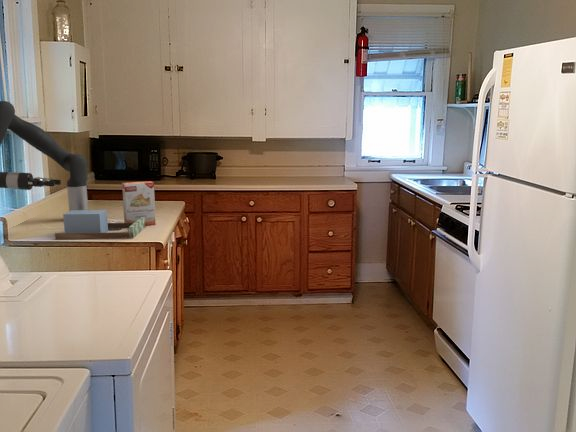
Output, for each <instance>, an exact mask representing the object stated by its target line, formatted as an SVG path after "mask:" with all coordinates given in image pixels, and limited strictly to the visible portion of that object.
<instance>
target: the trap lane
mask: <svg viewBox="0 0 576 432" xmlns="http://www.w3.org/2000/svg"><path fill="white" fill-rule="evenodd" d="M122 229H128V231H121V230H122ZM144 229H146V226H145V222H144V217H141V218H140V219H138V220H137V221H136V222H135V223H124V222H108V232H106V233H65V232H57V233H56V232H55V233H54V239H55V240H93V239H94V240H102V239H103V240H105V239H134V238H135V237H136V236H137V235H138V234H140V233H141V232H142V231H143V230H144ZM109 231H110V232H109ZM112 231H113V232H112ZM117 231H118V232H117Z"/></svg>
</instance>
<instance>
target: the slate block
mask: <svg viewBox="0 0 576 432" xmlns="http://www.w3.org/2000/svg"><path fill="white" fill-rule="evenodd" d="M62 217H63V218H62V219H63V228H64V233H106V232H109V231H108V223H109V221H108V210H107V209H92V210H91V209H90V210H89V209H88V210H71V211H69V210H68V212H65V213H63V214H62Z"/></svg>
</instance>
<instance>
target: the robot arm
mask: <svg viewBox="0 0 576 432" xmlns="http://www.w3.org/2000/svg"><path fill="white" fill-rule="evenodd" d="M7 131H11V132H12V133H13V134H15V135H16V136H17V137H19V138H21V140H23V141H25V142H26V143H27V144H28V145H30V146H31V147H33V148H34V149H36V150H37V151H39V152H41V153H43V154H44V155H45V156H47V157H49V158H50V159H52V160H53V161H54V162H56V163H57V164H58V165H59V166H60V167H62V168H63V170H65V171H67V172H69V179H68V180H66V190H67V201H68V212H69V211H71V210H89V201H88V190H87V187H88V186H87V181H88V163H87V159H86V157H85V156H84V155H81V154H76V153H71V152H70V151H68V150H66V149H64V148H63V147H61V145H59V144H58V142H57V141H56V140H55V139H54V137H53V136H52V135H50V133H49V132H47V131H45V130H44V129H43V128H41V127H40V126H38V125H35V124H33V123H31V122H29V121H27V120H25V119H23V118H21V117H19V116H17V115H16V109H15V107H14V105H13V104H12V103H11V102H10V101H5V100H0V147H1V146H2V143H3V140H4V138H5V135H6V133H7ZM61 184H62V180H61V179H53V178H47V177H40V176H37V177H33V173H31V172H21V171H19V172H17V171H12V172H8V171H4V172H3V171H0V188H1V189H2V188H3V189H11V190H21V191H23V190H25V191H31V190H32V189H33V187H35V188H36V187H38V188H42V187H44V188H45V187H55V185H56V186H57V185H58V186H59V185H61Z"/></svg>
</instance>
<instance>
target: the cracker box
mask: <svg viewBox="0 0 576 432" xmlns="http://www.w3.org/2000/svg"><path fill="white" fill-rule="evenodd" d="M121 185H122V187H121V189H122V201H123V203H122V204H123V219H124V221H123V223H135V222H136V221H137V220H138V219H140V218H141V217H144V222H145V227H146V226H155V225H157V223H156V203H155V202H156V201H155V199H156V198H155V183H154V182H153V181H150V180H149V181H134V182H133V181H132V182H131V181H130V182H122V183H121Z"/></svg>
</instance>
